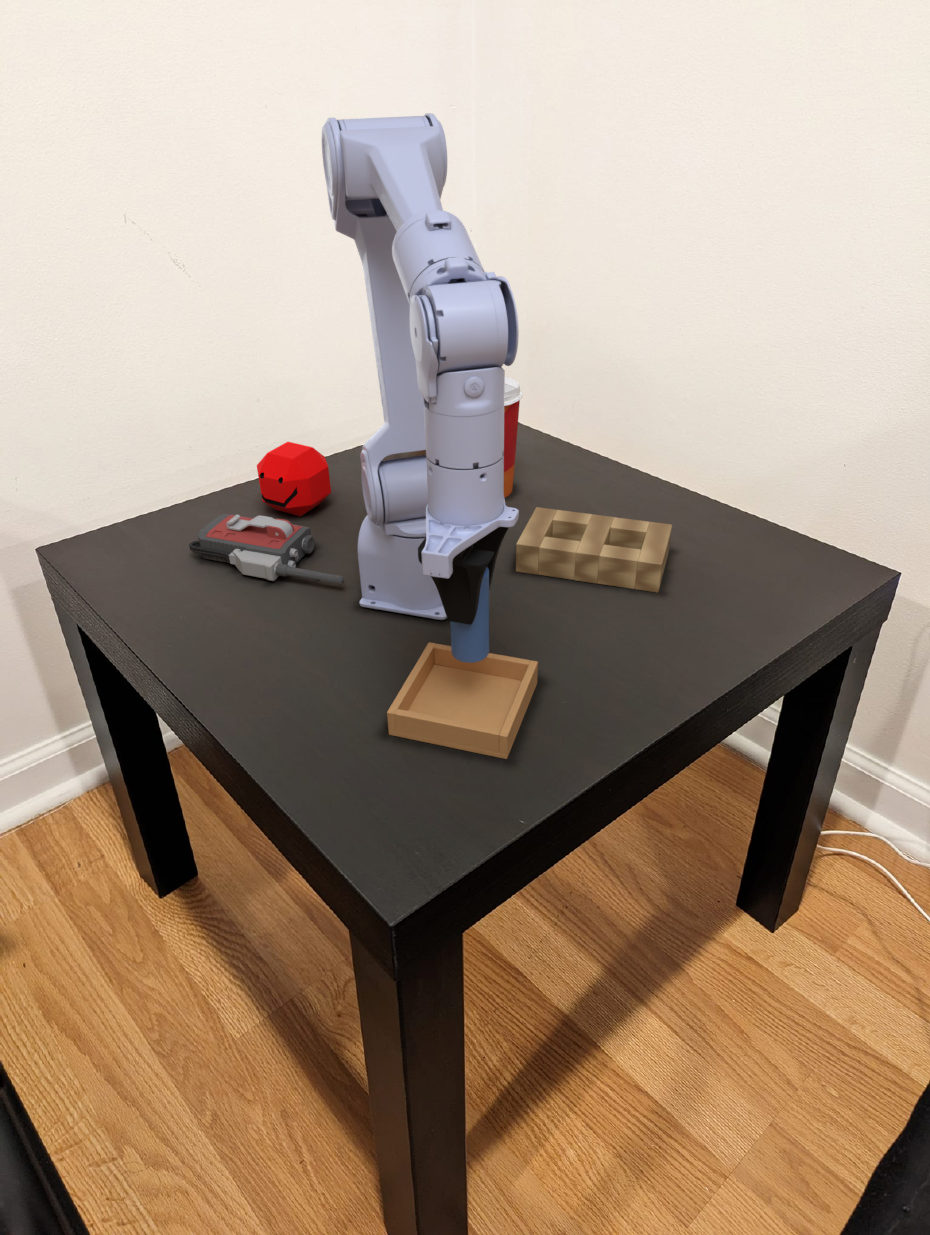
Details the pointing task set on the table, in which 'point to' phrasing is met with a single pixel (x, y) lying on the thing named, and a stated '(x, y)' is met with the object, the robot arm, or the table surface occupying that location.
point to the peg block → (594, 549)
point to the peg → (473, 630)
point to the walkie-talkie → (259, 546)
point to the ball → (294, 478)
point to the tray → (464, 701)
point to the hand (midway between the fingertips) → (467, 608)
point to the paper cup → (510, 430)
